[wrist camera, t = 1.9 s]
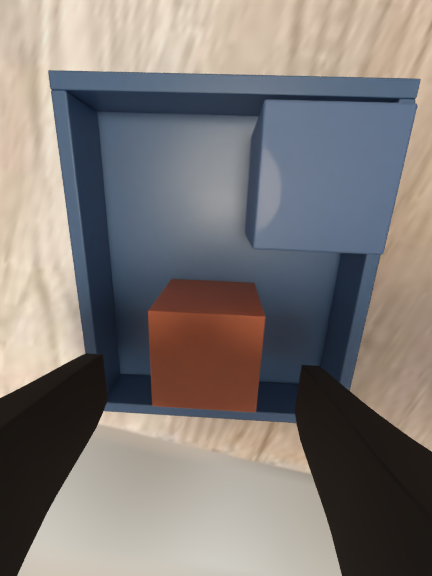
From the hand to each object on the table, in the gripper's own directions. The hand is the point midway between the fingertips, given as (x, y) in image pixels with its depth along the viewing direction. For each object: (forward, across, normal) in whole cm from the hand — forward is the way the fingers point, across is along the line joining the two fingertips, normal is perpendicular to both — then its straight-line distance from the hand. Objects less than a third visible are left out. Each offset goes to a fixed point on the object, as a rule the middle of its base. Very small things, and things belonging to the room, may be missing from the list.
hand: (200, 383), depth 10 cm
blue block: (+6, -4, -7) cm, 10 cm away
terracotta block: (+6, 0, 0) cm, 6 cm away
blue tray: (+6, -1, -3) cm, 7 cm away
